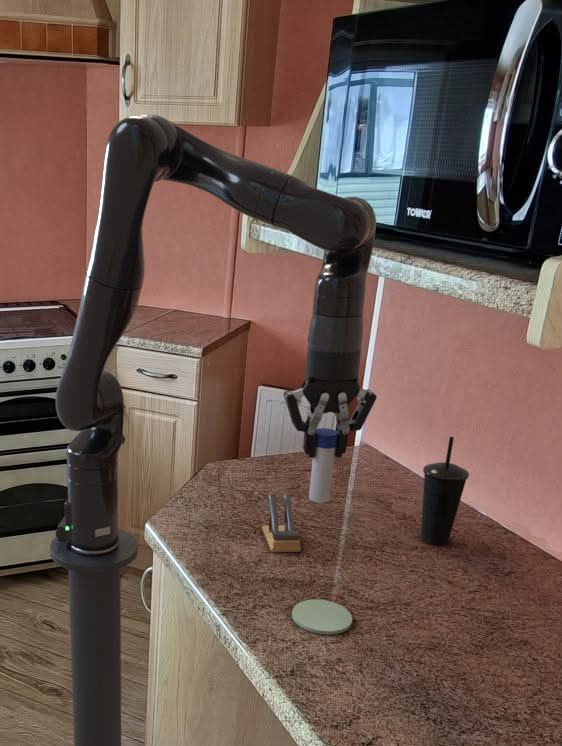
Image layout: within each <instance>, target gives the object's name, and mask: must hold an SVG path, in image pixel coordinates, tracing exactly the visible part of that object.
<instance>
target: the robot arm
mask: <svg viewBox="0 0 562 746" xmlns="http://www.w3.org/2000/svg"><path fill="white" fill-rule="evenodd" d="M159 181H168V182H173V183H179V184H184V185H187V186H191V187H194V188H197V189H199V190H202V191H204V192H206V193H208V194H210V195H212V196H214V197H215V198H217V199H218V200H220V201H221V202H222V203H224V204H226V205H227V206H229V207H230V208H231V209H234V210H235V211H237V212H239V213H241V214H243V215H245V216H246V217H250V218H252V219H255V220H257V221H260V222H262V223H265V224H267V225H270V226H272V227H275V228H278V229H282V230H284V231H287V232H290V233H291V234H293V235H294V236H296V237H298V238H299V239H301V240H304V241H305V242H307V243H309V244H311V245H313V246H315V247H316V248H319V249H322V250H323V256H322V265H321V268H320V270H319V273H318V275H317V277H316V279H315V284H314V291H313V292H314V293H313V301H312V302H313V303H312V312H311V319H310V324H309V327H308V329H309V330H308V335H307V351H306V364H305V365H306V366H305V377H304V381H303V383H302V384H301V385H300V386H301V387H300V388H296V389H294V390H292V391H291V390H289V389H287V390H284V392H283V397H284V398H283V399H284V401H285V404H286V408H287V411H288V414H289V416H290V420H291V423H292V425H293V427H294V428H295V430H296V431H298V432H303V445H302V449H303V452H304V453H305V454H306V455H307V457H308V458H309V459H313V458H314V456H315V446H316V434H315V433H316V430H317V429H318V426H319V423H320V422H321V421H322V418H323V415H324V414H328V413H333V414H334V416H335V420H336V426H337V430H335V431H337V432H338V441H337V446H336V447H335V456H334V457H335V458H342V457H343V455H344V454H346V452H347V447H348V438H349V434H350V433H351V432H353V431H360V430H362V428H363V426H364V425H365V423H366V420H367V419H368V416H369V414H370V413H371V411H372V408H373V406H374V404H375V402H376V401H377V395H376V394H375V393H374V392H373V391H372V390H371V389H368V388H367V389H365V388H362V387H361V386H360V384H359V374H360V364H361V355H362V345H363V337H364V310H365V301H366V291H367V276H368V271H369V267H370V264H371V259H372V254H373V250H374V244H375V237H376V231H377V217H376V212H375V210H374V208H373V206H371V204H370V203H369V202H368V201H367V200H365V199H363V198H361V197H358V196H347V197H342V196H339V195H336V194H332V193H330V192H327V191H324V190H321V189H318V188H316V187H313V186H312V185H311V184H310V183H309V182H307V181H306V180H304V179H302V178H300V177H297V176H294V175H292V174H291V173H290V174H289V173H287V172H285V171H281V170H278V169H276V168H273V167H270V166H267V165H264V164H262V163H259V162H257V161H253V160H250V159H248V158H244V157H241V156H239V155H236V154H234V153H230V152H228V151H226V150H224V149H221V148H219V147H217V146H215V145H213V144H211V143H209V142H206V141H204V140H203V139H201V138H199V137H197V136H196V135H194V134H192V133H191V132H189V131H187V130H185V129H184V128H182V127H181V126H179V125H177V124H176V123H174V122H172V121H170V120H169V119H167V118H166V117H163V116H161V115H157V114H142V115H131V116H127V117H125V118H123V119H121V120H120V121H119V122H117V124H115V125H114V127H113V128H112V130H111V132H110V133H109V136H108V138H107V141H106V146H105V152H104V159H103V169H102V180H101V189H100V199H99V205H98V206H99V208H98V212H97V213H98V215H97V219H96V223H95V227H94V233H93V236H92V242H91V247H90V253H89V256H88V261H87V265H86V270H85V273H84V279H83V284H82V289H81V294H80V295H81V296H80V302H79V307H78V311H77V316H76V320H75V325H74V329H73V333H72V337H71V338H72V339H71V342H70V345H69V348H68V349H69V350H68V353H67V356H66V360H65V363H64V366H63V370H62V372H61V375H60V378H59V381H58V385H57V389H56V393H55V411H56V415H57V417H58V419H59V422H60V423H61V424H62V425H63V427H65V429H67V430H69V431H73V432H78V433H77V434H76V435H75V437H74V438H73V439H72V440H71V441H70V443H68V445H67V447H66V472H67V473H66V475H67V477H66V478H67V480H66V481H67V500H66V501H65V502H64V516H63V518H62V519H61V521H60V522H59V523H58V525H57V526H56V530H55V537H57V538H58V542H66V550H71V551H73V552H74V553H76V554H79V555H82V556H90V557H96V556H104V555H107V554H110V553H112V552H114V551H115V550H117V548H118V547H119V534H118V529H119V453H120V450H121V447H122V445H123V438H124V437H123V436H124V419H125V417H124V416H125V400H124V393H123V388H122V386H121V384H120V382H119V380H118V379H117V377H116V376H115V375H114V374H113V373H112V372H109V371H107V370H104V369H105V367H106V364H107V361H108V359H109V357H110V355H111V353H112V352H113V351H114V348H115V347H116V346H117V344H118V343H119V341H120V340H121V338H122V337H123V335H124V334H125V332H126V330H127V329H128V328H129V326H130V324H131V323H132V320H133V319H134V316H135V314H136V312H137V309H138V305H139V301H140V297H141V292H142V288H143V285H144V280H145V273H146V260H145V258H146V257H145V249H144V241H143V225H144V218H145V213H146V210H147V206H148V202H149V198H150V195H151V192H152V189H153V187H154V184H155V183H156V182H159ZM303 397H304V398H305V399H306V400H307V402H308V403H309V406H308V408H307V412H306V415H307V416H306V419H305V421H304V420H303V418H302V415H301V412H300V408H299V405H301V403H302V398H303ZM356 398H357V402H358V403H357V405H356V407H355V409H354V411H353V412H352V415H351V417H350V415H349V408H348V407H349V406H350V405H351V403H352V402H353V401H354V400H355V399H356Z"/></svg>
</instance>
